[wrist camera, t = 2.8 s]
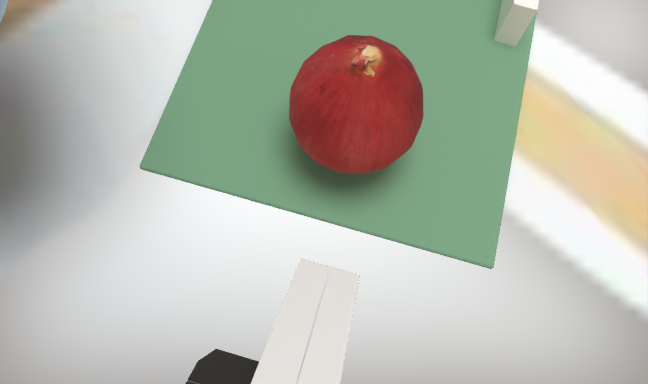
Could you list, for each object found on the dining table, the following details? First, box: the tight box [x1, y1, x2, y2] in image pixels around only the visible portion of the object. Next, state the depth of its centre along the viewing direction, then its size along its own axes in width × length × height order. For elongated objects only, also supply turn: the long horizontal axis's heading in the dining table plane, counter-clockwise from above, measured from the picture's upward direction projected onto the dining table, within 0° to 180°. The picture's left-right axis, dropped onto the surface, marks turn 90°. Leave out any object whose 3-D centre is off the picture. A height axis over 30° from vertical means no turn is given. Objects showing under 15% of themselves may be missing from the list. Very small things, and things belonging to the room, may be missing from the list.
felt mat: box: [140, 0, 537, 269], centre depth 33 cm, size 17×23×1 cm
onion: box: [289, 35, 424, 174], centre depth 27 cm, size 6×6×8 cm
